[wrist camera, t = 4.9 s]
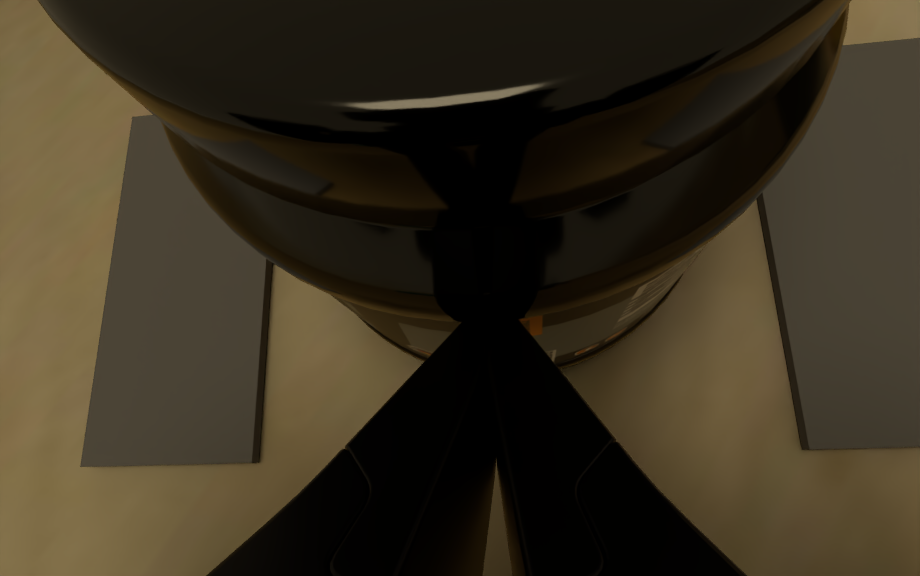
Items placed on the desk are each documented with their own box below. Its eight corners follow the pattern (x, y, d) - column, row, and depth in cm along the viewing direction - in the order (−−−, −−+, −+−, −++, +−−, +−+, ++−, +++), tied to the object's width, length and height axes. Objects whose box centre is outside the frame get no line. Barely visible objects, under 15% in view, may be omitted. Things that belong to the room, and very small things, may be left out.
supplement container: (369, 40, 19) (116, -579, 8) (704, 60, 17) (1032, -707, 6) (293, 353, 16) (-265, 133, 5) (678, 414, 15) (1175, 291, 3)
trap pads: (1028, 443, 14) (1042, 443, 13) (91, 466, 16) (80, 466, 16) (915, 46, 17) (924, 37, 16) (140, 123, 19) (132, 116, 19)
